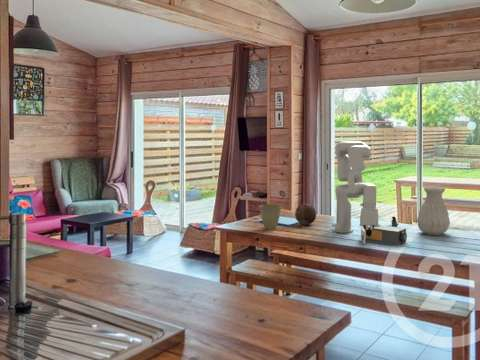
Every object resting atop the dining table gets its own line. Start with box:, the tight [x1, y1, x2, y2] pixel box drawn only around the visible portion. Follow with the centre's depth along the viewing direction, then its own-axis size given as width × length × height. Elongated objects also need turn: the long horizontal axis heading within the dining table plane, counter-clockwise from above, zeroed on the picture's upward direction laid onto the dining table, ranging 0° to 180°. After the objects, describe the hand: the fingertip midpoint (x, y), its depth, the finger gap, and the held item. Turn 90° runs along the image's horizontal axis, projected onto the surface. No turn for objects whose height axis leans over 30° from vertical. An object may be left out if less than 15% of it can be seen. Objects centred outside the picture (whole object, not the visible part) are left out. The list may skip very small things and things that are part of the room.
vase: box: [416, 186, 451, 236], centre depth 315 cm, size 20×20×30 cm
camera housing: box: [363, 224, 408, 246], centre depth 296 cm, size 24×12×9 cm, turn 47°
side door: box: [360, 226, 366, 245], centre depth 293 cm, size 14×2×7 cm, turn 172°
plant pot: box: [259, 204, 282, 231], centre depth 332 cm, size 15×15×16 cm
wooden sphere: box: [294, 203, 317, 226], centre depth 347 cm, size 15×15×15 cm
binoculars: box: [390, 216, 399, 227], centre depth 318 cm, size 9×11×10 cm
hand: (368, 236), depth 289 cm, fingers closed
